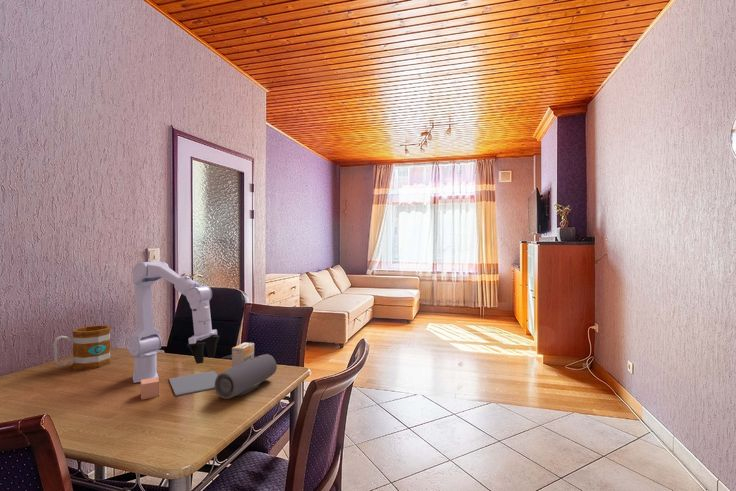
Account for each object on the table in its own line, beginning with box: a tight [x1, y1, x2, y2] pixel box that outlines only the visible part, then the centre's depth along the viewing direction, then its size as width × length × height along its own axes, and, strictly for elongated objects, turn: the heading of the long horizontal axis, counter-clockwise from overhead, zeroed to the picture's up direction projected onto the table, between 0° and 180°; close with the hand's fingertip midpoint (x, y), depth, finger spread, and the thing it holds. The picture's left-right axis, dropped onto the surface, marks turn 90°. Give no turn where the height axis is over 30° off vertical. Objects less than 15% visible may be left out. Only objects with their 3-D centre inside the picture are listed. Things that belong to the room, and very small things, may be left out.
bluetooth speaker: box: [214, 353, 278, 400], centre depth 131 cm, size 23×9×10 cm, turn 159°
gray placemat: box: [168, 370, 219, 397], centre depth 136 cm, size 18×16×1 cm
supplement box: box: [231, 342, 255, 368], centre depth 140 cm, size 8×5×13 cm, turn 168°
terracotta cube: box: [140, 376, 160, 400], centre depth 125 cm, size 5×5×5 cm
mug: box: [52, 324, 112, 371], centre depth 154 cm, size 20×14×15 cm
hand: (205, 360), depth 130 cm, fingers open, 7 cm apart
